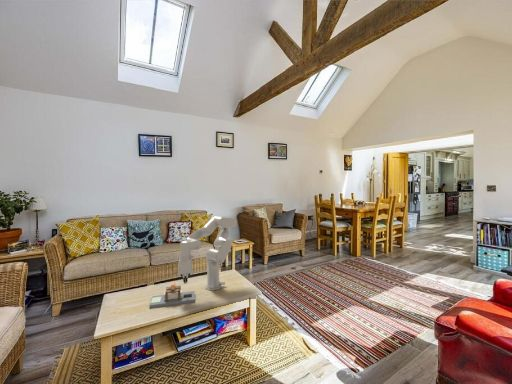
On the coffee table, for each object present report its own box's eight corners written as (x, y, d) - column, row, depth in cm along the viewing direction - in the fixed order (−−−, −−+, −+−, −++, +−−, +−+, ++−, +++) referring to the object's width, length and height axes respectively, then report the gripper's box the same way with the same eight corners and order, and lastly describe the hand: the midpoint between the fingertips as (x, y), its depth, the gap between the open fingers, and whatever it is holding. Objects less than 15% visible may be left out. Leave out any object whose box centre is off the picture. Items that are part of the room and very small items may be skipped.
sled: (182, 294, 182) (181, 280, 181) (181, 298, 175) (181, 284, 175) (165, 296, 179) (164, 282, 178) (164, 300, 172) (163, 286, 172)
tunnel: (180, 294, 182) (180, 285, 182) (180, 299, 174) (180, 290, 174) (166, 295, 180) (166, 287, 180) (165, 301, 171) (165, 292, 171)
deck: (194, 293, 188) (194, 290, 187) (194, 302, 174) (194, 299, 174) (152, 298, 180) (152, 295, 180) (149, 308, 166) (149, 305, 166)
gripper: (195, 255, 184) (195, 280, 184) (174, 257, 180) (174, 282, 180) (196, 258, 176) (196, 283, 177) (174, 260, 172) (174, 286, 173)
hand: (185, 282), depth 178 cm, fingers closed
